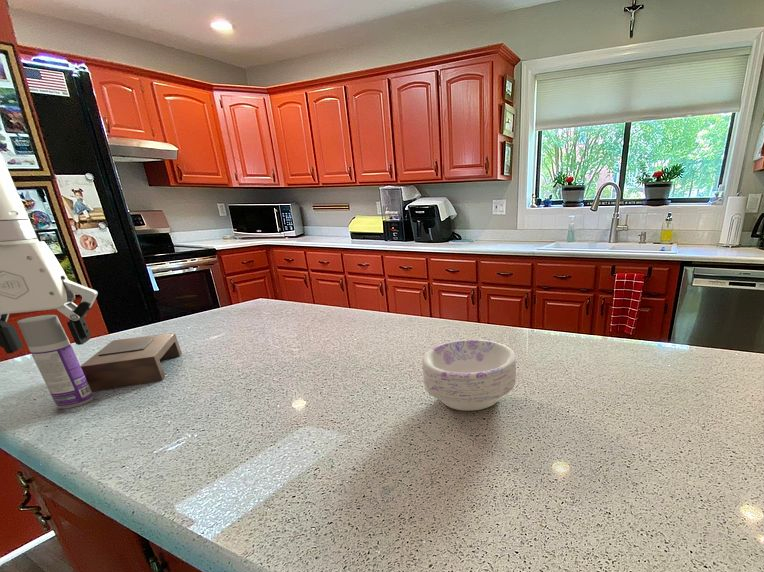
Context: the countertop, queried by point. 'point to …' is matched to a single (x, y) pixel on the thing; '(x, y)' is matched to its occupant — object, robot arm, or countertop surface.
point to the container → (56, 360)
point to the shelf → (130, 361)
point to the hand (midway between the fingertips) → (50, 345)
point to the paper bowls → (469, 373)
